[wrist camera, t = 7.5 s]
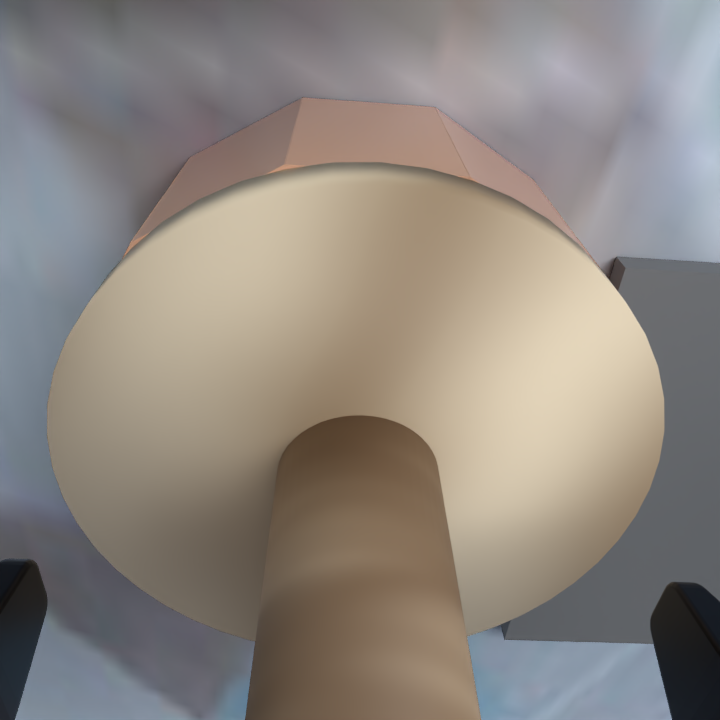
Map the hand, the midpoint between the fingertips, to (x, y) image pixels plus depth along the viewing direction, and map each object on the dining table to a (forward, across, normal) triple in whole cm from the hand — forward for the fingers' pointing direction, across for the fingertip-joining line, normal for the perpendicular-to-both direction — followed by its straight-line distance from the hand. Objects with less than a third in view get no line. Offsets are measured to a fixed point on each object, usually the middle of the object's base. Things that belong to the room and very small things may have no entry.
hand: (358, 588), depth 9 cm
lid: (+3, 0, 0) cm, 3 cm away
